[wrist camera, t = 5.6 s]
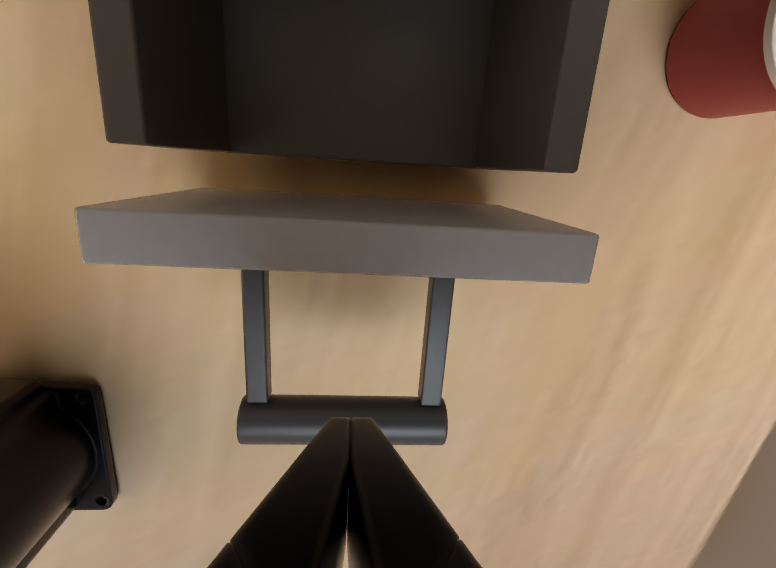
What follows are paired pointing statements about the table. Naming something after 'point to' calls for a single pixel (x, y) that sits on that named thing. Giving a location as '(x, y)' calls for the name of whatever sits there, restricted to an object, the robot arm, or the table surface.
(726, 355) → the table surface
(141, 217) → the pod drawer
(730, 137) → the table surface
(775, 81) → the coffee pod
